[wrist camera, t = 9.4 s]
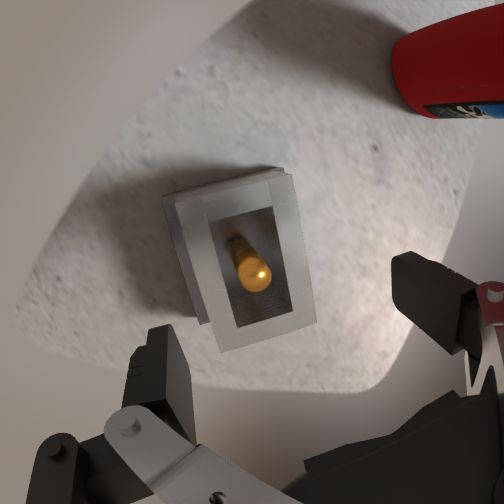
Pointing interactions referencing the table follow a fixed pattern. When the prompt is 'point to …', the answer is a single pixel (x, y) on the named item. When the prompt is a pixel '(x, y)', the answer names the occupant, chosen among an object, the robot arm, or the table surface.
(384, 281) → the table surface
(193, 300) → the grey peg base
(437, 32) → the beverage can
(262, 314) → the silver frame
